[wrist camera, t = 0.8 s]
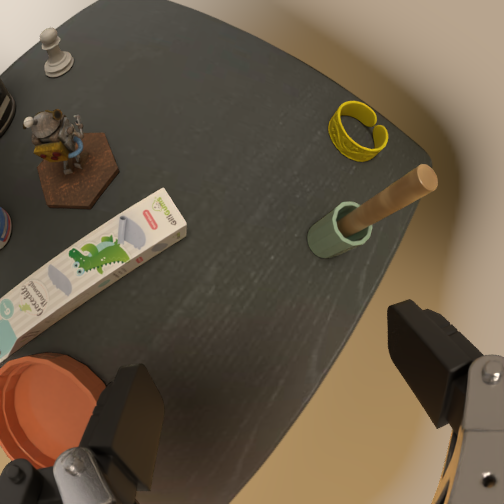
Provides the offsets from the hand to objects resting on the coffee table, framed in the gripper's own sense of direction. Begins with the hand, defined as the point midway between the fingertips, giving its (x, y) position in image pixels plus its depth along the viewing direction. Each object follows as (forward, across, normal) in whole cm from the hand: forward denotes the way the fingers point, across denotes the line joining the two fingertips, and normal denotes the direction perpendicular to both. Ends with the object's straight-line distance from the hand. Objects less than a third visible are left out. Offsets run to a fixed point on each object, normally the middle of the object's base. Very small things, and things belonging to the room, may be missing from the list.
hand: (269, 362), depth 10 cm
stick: (+27, -8, +6) cm, 29 cm away
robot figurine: (+27, +18, -9) cm, 34 cm away
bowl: (+13, +24, +14) cm, 31 cm away
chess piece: (+35, +21, -27) cm, 49 cm away
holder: (+27, -8, +6) cm, 29 cm away
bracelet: (+35, -17, -5) cm, 40 cm away
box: (+21, +20, +2) cm, 29 cm away
